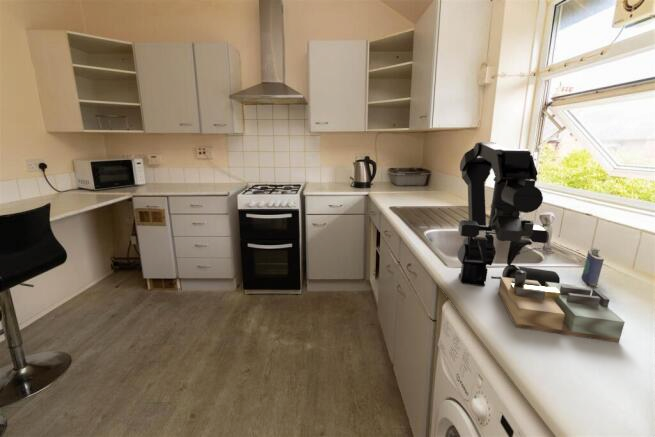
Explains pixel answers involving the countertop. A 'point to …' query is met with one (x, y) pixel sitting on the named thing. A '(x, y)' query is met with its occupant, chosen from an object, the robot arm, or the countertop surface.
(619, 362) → the countertop surface
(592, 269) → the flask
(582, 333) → the frame
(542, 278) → the drinking cup
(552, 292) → the bolt
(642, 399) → the countertop surface
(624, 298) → the countertop surface
